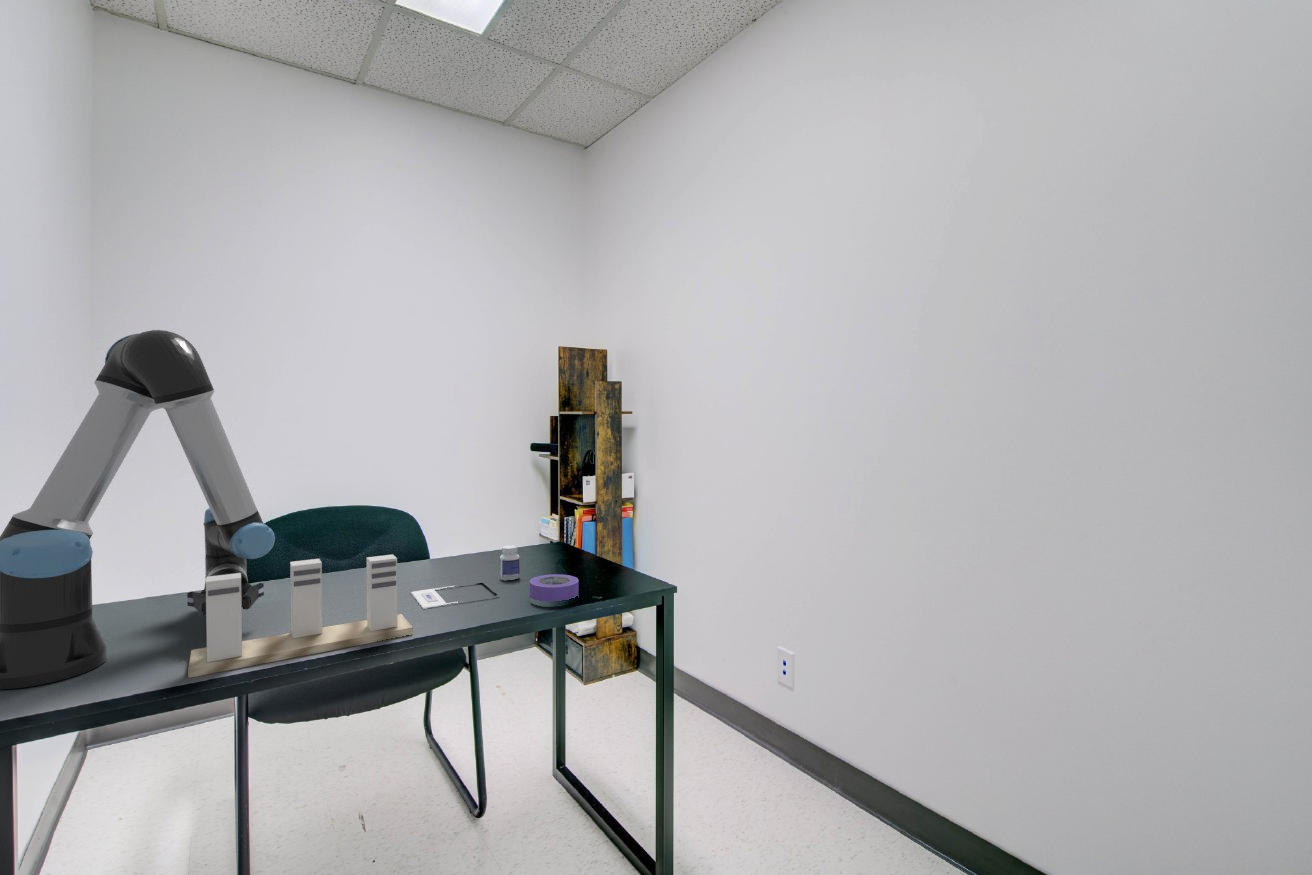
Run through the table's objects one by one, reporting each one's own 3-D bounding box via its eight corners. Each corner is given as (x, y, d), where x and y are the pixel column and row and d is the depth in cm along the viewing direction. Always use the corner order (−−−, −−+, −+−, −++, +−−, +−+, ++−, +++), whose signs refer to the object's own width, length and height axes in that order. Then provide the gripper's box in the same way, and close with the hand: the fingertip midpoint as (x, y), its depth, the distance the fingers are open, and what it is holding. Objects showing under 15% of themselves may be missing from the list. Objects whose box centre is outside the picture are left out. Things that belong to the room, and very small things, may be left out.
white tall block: (292, 638, 114) (291, 566, 114) (291, 632, 118) (290, 561, 117) (322, 633, 117) (321, 562, 117) (319, 627, 121) (319, 558, 120)
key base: (188, 677, 101) (188, 669, 101) (191, 657, 109) (191, 649, 109) (412, 634, 122) (412, 627, 122) (401, 620, 130) (401, 613, 130)
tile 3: (370, 631, 119) (370, 561, 118) (367, 625, 122) (366, 557, 122) (397, 626, 122) (397, 558, 121) (393, 620, 125) (392, 554, 125)
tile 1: (206, 662, 103) (205, 582, 103) (207, 654, 107) (206, 576, 106) (242, 656, 106) (241, 578, 106) (241, 648, 110) (240, 572, 109)
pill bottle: (523, 579, 164) (523, 546, 164) (506, 582, 160) (506, 549, 160) (512, 575, 168) (512, 543, 167) (495, 579, 164) (496, 546, 163)
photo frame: (410, 591, 150) (482, 580, 159) (410, 595, 150) (482, 584, 159) (423, 606, 137) (500, 594, 147) (423, 611, 137) (500, 599, 147)
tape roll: (569, 591, 154) (569, 571, 153) (585, 604, 143) (585, 583, 143) (523, 597, 148) (523, 577, 148) (537, 610, 138) (537, 589, 138)
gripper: (263, 597, 131) (270, 629, 112) (188, 608, 124) (181, 644, 105) (262, 563, 131) (269, 589, 112) (187, 572, 123) (180, 601, 104)
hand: (227, 616), depth 108 cm, fingers closed
